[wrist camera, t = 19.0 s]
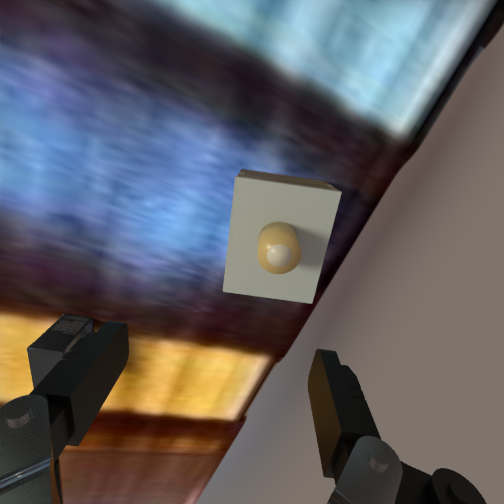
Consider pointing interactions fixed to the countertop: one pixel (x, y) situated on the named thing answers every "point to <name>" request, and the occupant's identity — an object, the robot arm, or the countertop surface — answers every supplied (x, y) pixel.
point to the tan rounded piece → (278, 248)
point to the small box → (56, 344)
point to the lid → (278, 210)
